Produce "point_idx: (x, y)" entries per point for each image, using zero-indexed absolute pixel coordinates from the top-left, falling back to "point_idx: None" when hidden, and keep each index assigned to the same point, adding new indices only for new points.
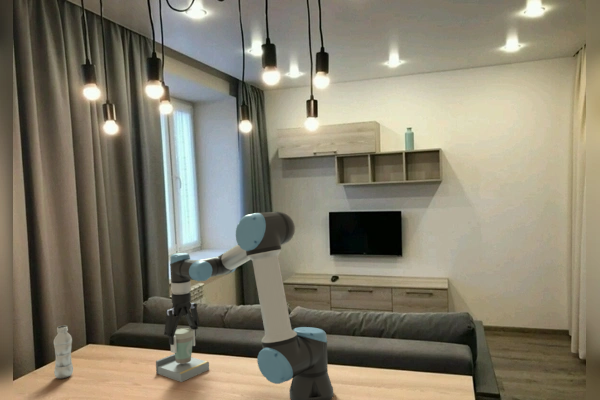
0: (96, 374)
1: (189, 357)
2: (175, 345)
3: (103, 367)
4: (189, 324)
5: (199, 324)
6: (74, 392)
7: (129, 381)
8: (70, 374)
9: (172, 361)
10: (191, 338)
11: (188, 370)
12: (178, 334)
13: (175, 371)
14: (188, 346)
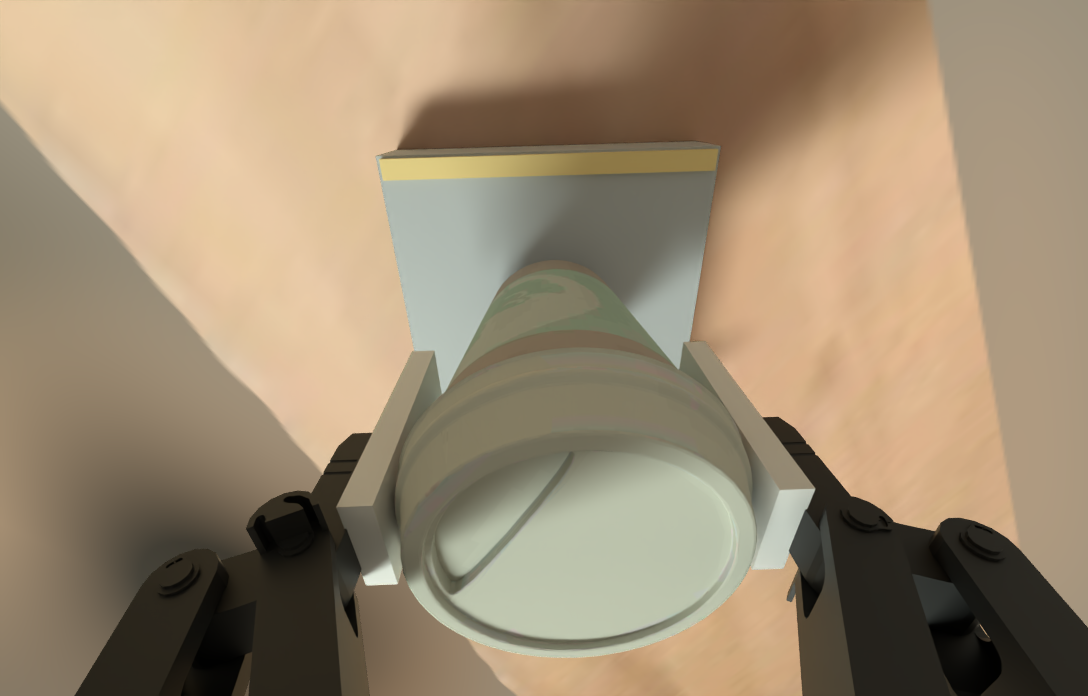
0: (789, 583)
1: (541, 269)
2: (734, 390)
3: (717, 614)
4: (362, 669)
5: (152, 583)
6: (988, 508)
7: (809, 427)
8: None
9: None
10: (510, 353)
11: (631, 151)
12: (750, 497)
13: (694, 241)
14: (570, 305)
